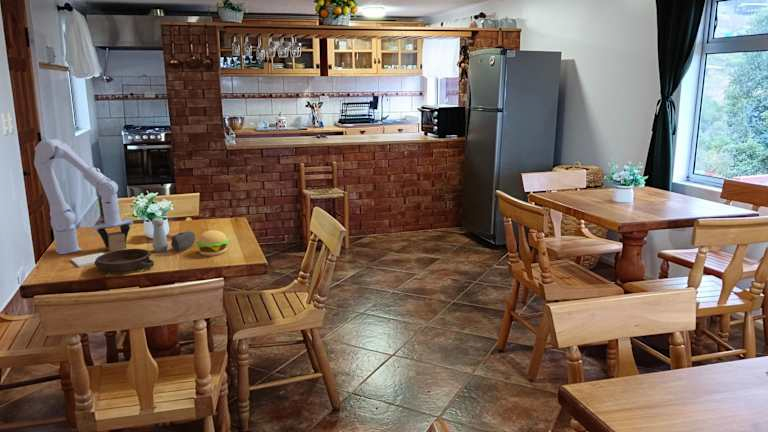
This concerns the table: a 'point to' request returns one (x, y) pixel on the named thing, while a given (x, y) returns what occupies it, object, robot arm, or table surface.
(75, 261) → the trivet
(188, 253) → the table surface
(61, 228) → the robot arm
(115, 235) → the walnut cube
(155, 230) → the salt shaker
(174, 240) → the perforated stone tool
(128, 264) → the dish
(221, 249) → the hamburger
